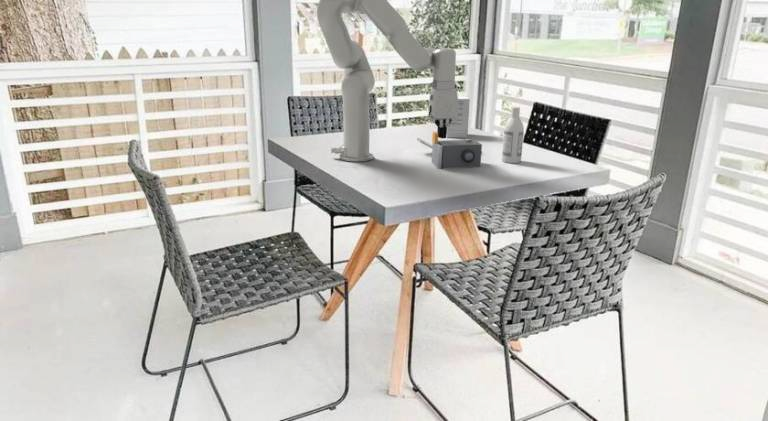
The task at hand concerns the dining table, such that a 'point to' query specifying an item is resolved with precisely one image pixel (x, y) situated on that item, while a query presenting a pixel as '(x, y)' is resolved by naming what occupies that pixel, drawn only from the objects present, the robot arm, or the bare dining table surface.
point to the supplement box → (460, 120)
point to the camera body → (461, 153)
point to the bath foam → (513, 138)
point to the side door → (436, 151)
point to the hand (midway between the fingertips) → (441, 137)
